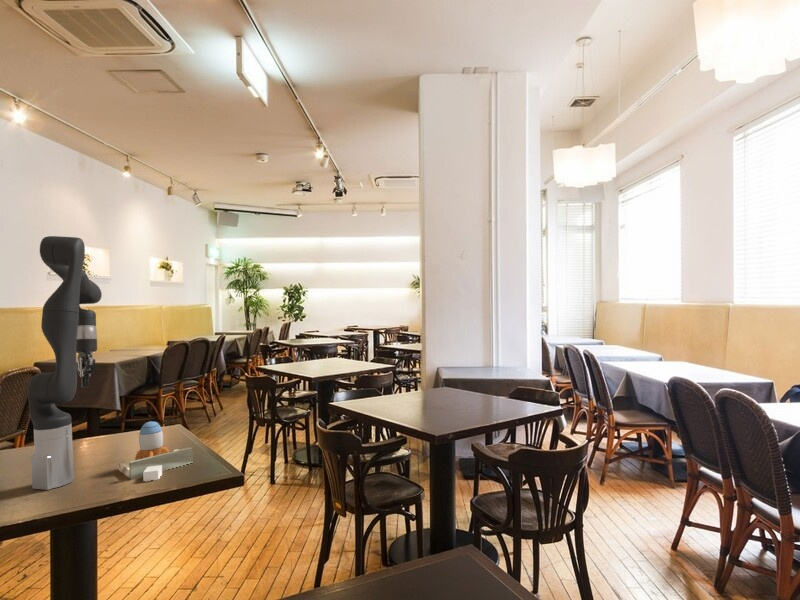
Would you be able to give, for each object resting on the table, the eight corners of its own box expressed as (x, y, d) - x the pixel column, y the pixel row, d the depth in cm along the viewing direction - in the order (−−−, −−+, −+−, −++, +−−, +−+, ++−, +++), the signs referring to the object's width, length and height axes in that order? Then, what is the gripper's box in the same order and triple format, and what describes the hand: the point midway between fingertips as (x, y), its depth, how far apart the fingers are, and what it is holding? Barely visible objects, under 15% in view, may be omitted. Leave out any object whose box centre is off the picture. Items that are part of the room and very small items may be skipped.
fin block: (158, 480, 144) (157, 470, 144) (143, 482, 143) (143, 472, 143) (162, 474, 149) (161, 465, 149) (148, 476, 148) (147, 466, 148)
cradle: (118, 470, 154) (118, 454, 154) (177, 455, 167) (177, 441, 167) (131, 479, 145) (130, 462, 145) (192, 463, 158) (192, 448, 158)
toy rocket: (157, 473, 153) (142, 428, 152) (128, 477, 155) (114, 434, 154) (176, 457, 163) (163, 416, 162) (149, 462, 165) (136, 421, 164)
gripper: (103, 336, 174) (104, 385, 172) (89, 341, 183) (90, 387, 180) (79, 336, 169) (80, 386, 166) (66, 341, 177) (66, 389, 174)
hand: (85, 387), depth 173 cm, fingers closed
